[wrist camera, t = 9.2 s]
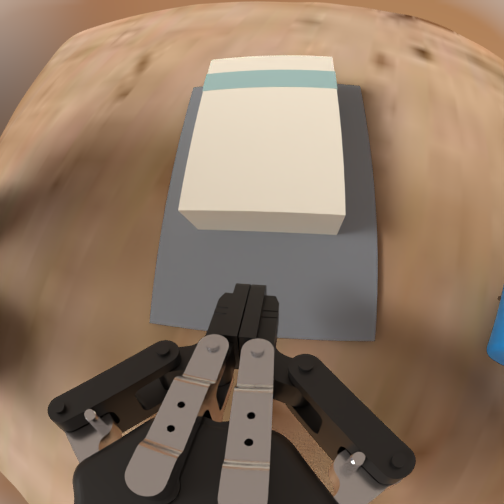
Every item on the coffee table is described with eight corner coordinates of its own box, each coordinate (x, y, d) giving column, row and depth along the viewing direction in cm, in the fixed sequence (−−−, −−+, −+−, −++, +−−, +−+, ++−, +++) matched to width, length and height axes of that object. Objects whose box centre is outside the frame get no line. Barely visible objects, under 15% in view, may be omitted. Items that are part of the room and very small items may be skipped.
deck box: (346, 214, 16) (332, 56, 19) (177, 210, 18) (210, 59, 21) (337, 235, 20) (330, 88, 23) (197, 229, 22) (221, 89, 25)
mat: (373, 340, 18) (374, 340, 18) (152, 322, 21) (149, 322, 21) (359, 89, 23) (360, 86, 23) (194, 90, 26) (193, 87, 25)
